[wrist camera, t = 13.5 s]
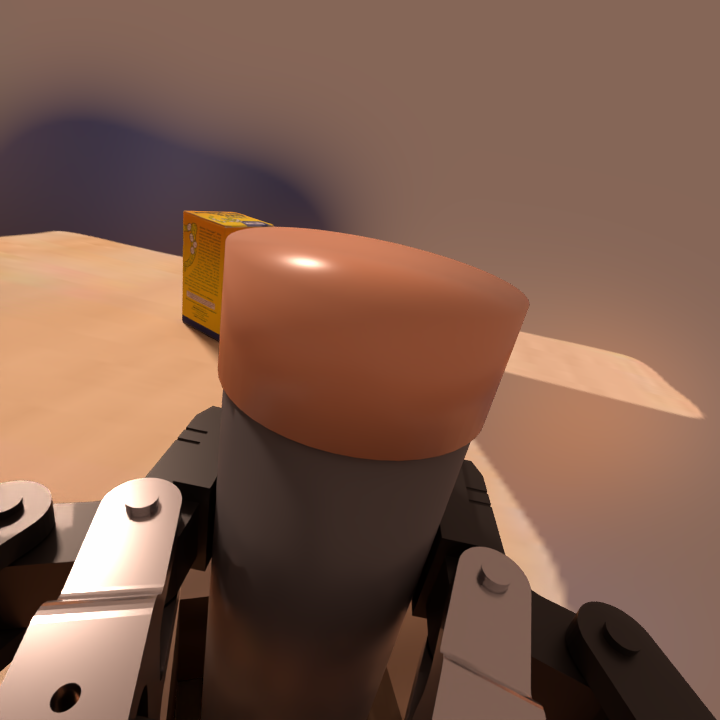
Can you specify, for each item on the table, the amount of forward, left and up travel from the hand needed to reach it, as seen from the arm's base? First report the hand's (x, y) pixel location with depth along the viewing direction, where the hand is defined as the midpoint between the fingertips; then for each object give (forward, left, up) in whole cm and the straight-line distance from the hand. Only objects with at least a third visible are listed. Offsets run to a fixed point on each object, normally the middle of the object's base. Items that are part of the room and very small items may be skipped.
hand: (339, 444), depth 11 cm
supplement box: (-33, -3, -11) cm, 35 cm away
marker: (+3, -1, -9) cm, 10 cm away
